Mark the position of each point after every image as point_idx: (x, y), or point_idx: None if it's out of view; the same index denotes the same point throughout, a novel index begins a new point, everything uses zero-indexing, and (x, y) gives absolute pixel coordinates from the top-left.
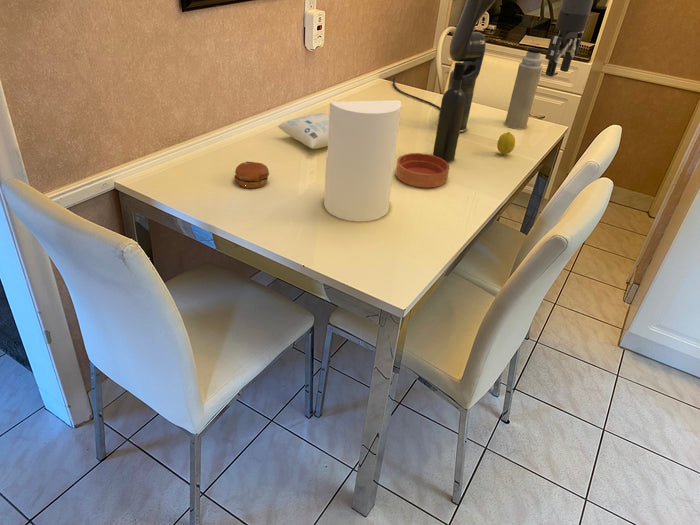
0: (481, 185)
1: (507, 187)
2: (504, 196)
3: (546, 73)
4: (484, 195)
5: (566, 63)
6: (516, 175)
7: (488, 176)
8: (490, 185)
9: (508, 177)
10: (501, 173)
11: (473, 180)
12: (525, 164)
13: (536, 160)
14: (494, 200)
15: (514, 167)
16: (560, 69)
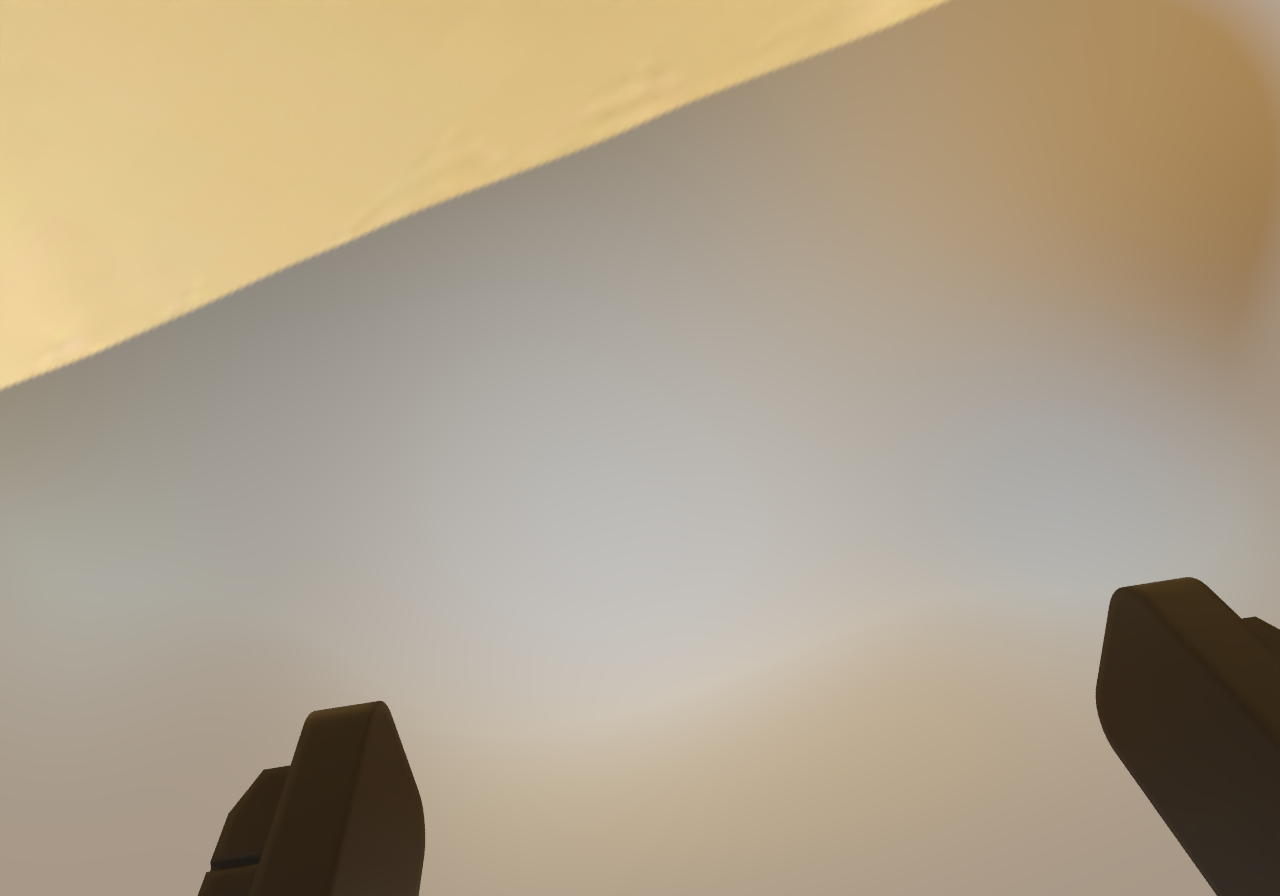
0: (92, 118)
1: (277, 241)
2: (159, 322)
3: (311, 743)
4: (17, 245)
5: (1230, 831)
6: (500, 135)
7: (260, 27)
8: (167, 154)
9: (411, 128)
10: (411, 44)
11: (78, 15)
12: (745, 25)
13: (901, 19)
14: (48, 328)
15: (608, 18)
16: (1130, 595)
